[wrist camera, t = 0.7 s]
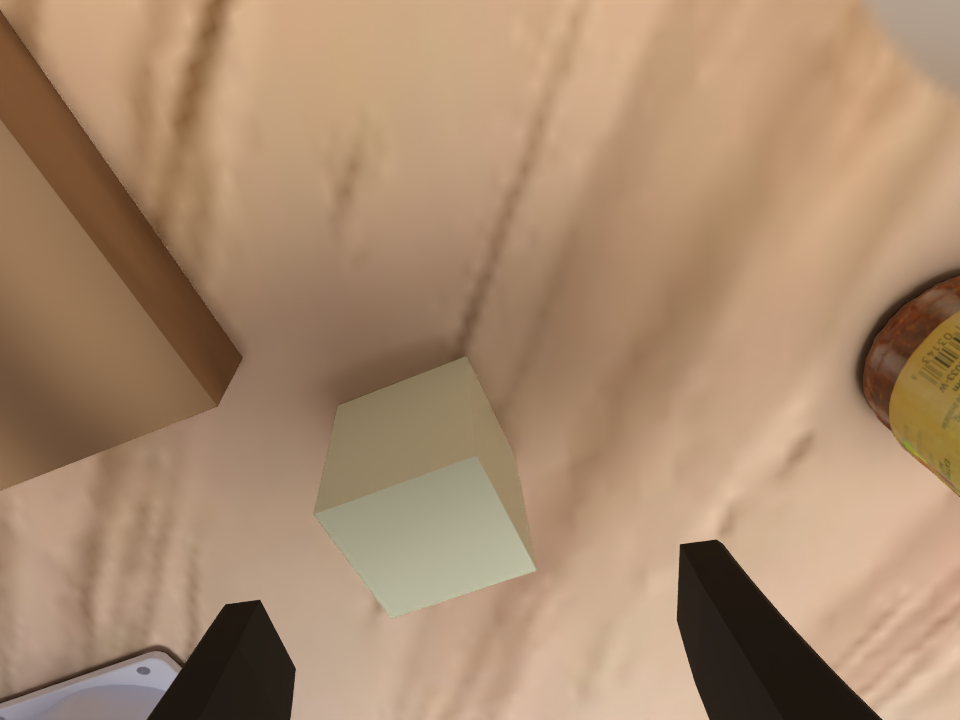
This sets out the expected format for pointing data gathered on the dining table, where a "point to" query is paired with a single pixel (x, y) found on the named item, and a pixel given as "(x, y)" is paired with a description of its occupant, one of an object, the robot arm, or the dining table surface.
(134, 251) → the walnut block
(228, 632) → the robot arm
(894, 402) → the sauce bottle
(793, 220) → the dining table surface
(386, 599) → the sage cube
